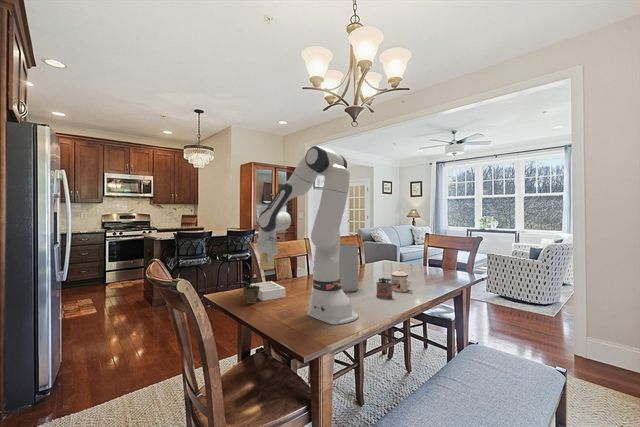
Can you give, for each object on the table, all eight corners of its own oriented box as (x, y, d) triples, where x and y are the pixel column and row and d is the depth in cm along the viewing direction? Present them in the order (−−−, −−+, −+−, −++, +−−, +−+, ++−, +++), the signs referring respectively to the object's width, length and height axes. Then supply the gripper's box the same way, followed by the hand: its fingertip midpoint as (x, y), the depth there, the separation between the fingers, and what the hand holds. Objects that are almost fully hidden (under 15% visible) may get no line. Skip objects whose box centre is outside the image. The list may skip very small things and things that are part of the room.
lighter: (375, 297, 146) (375, 277, 146) (377, 295, 149) (377, 276, 149) (392, 299, 143) (391, 279, 143) (392, 297, 146) (392, 277, 146)
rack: (285, 297, 148) (285, 288, 147) (261, 301, 141) (261, 292, 141) (271, 289, 163) (271, 281, 162) (249, 292, 156) (249, 284, 156)
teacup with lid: (387, 289, 161) (387, 268, 161) (398, 287, 166) (398, 266, 166) (404, 294, 151) (404, 272, 151) (415, 292, 156) (415, 270, 156)
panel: (274, 268, 152) (274, 253, 152) (261, 270, 149) (261, 254, 149) (272, 267, 155) (272, 252, 155) (259, 269, 151) (260, 253, 151)
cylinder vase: (346, 285, 171) (346, 243, 171) (362, 289, 162) (362, 244, 162) (331, 288, 163) (331, 244, 163) (347, 293, 154) (347, 246, 153)
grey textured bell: (255, 306, 133) (255, 289, 133) (240, 305, 134) (240, 288, 134) (261, 301, 140) (261, 285, 140) (247, 300, 142) (247, 284, 142)
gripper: (281, 237, 144) (281, 264, 145) (265, 234, 162) (265, 258, 162) (269, 237, 141) (269, 265, 141) (254, 234, 158) (254, 259, 158)
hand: (267, 262), depth 152 cm, fingers closed on panel, 2 cm apart
